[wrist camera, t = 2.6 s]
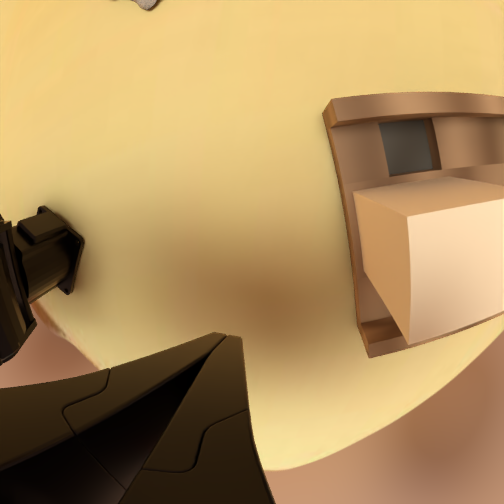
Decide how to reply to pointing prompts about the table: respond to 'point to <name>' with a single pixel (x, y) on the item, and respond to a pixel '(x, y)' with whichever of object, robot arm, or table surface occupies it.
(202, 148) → the table surface
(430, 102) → the tray
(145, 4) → the stone
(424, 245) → the cream block
